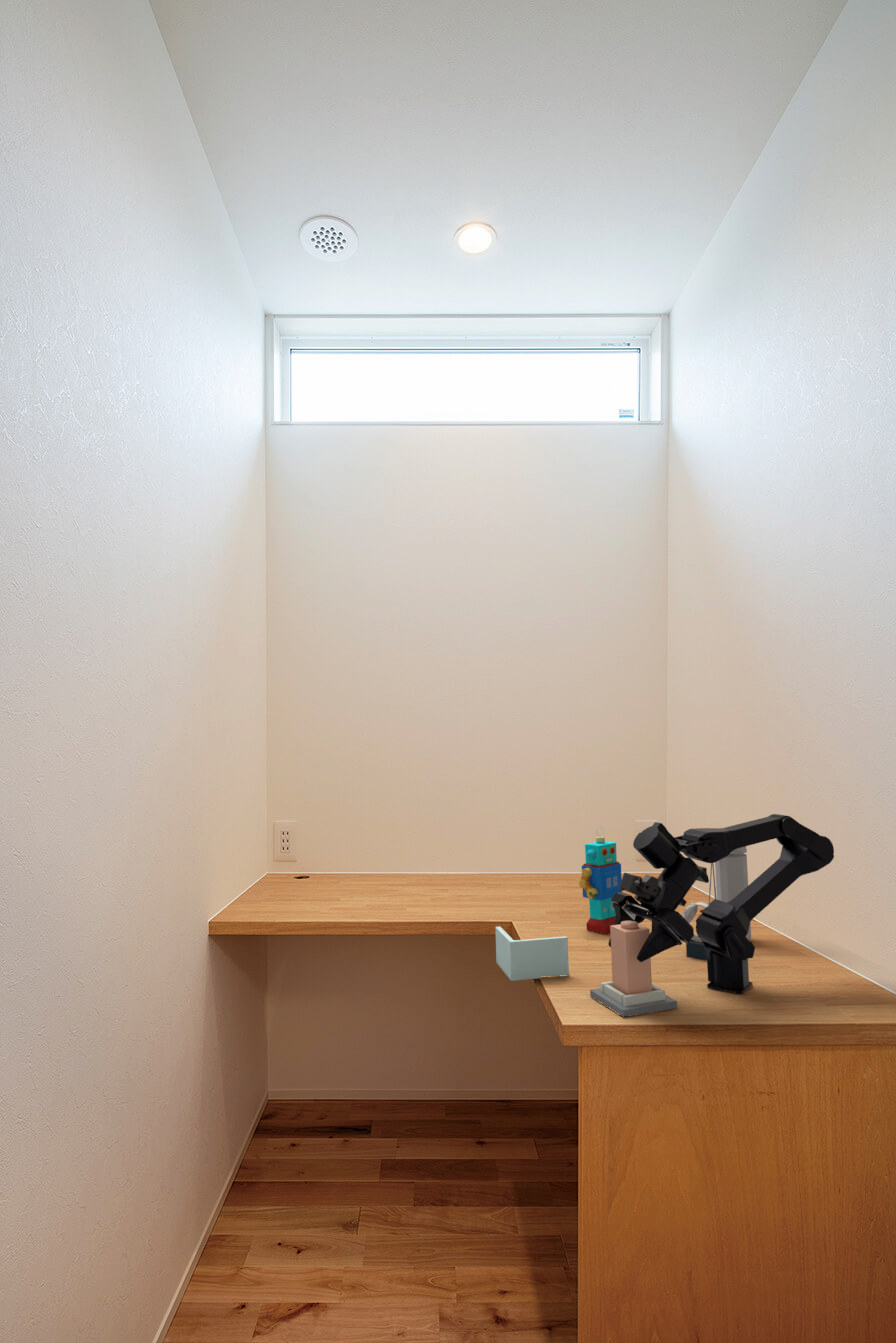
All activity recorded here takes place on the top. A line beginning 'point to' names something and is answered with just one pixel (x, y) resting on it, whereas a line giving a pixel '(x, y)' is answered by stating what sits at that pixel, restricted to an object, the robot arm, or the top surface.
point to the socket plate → (633, 1000)
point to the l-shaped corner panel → (531, 956)
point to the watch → (695, 945)
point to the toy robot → (601, 883)
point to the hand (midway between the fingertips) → (623, 953)
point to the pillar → (629, 958)
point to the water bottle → (731, 877)
